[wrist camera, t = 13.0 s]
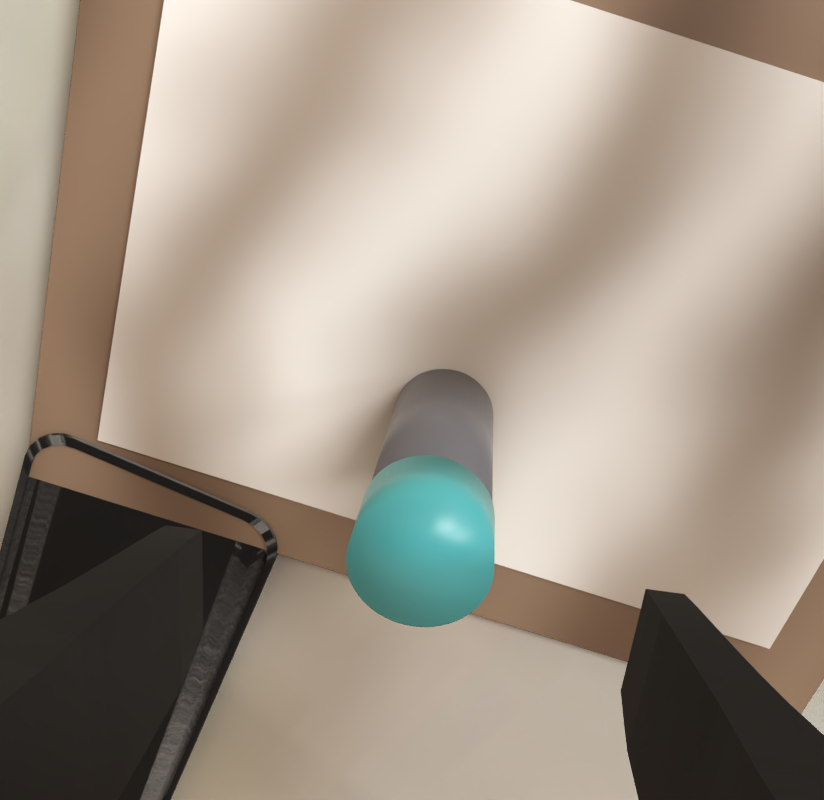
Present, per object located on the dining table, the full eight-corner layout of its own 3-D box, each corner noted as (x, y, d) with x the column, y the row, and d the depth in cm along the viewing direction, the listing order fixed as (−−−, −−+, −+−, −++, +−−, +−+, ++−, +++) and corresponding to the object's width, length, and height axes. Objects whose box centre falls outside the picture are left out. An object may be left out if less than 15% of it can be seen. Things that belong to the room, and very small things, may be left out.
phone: (288, 529, 22) (147, 852, 28) (296, 510, 23) (159, 825, 29) (30, 420, 22) (-61, 771, 27) (51, 405, 23) (-41, 746, 29)
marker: (501, 373, 20) (503, 511, 13) (487, 467, 21) (484, 636, 14) (397, 360, 20) (350, 491, 14) (389, 454, 21) (342, 616, 15)
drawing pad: (1180, 93, 17) (1211, 93, 16) (792, 700, 24) (802, 720, 23) (123, -252, 17) (105, -268, 16) (37, 466, 23) (22, 478, 23)
